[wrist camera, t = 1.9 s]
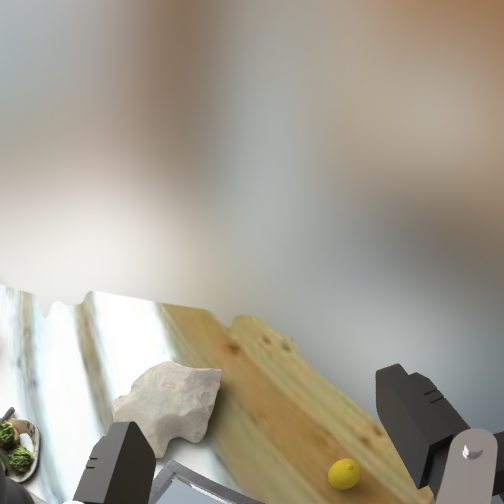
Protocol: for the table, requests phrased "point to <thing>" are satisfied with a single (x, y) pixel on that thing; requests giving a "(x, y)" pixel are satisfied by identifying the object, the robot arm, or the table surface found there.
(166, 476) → the trapdoor frame
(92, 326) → the table surface
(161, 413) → the rock
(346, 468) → the lemon
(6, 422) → the salad plate
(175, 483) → the trapdoor
